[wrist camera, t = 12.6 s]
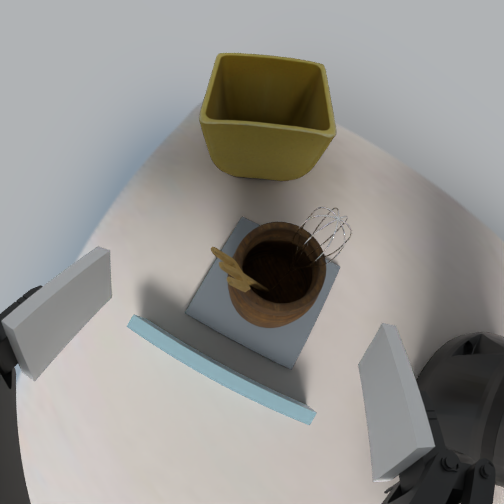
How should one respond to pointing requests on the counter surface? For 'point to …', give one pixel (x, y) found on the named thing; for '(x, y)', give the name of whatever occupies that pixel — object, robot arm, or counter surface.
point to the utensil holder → (276, 272)
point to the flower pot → (267, 115)
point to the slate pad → (241, 331)
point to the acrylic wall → (221, 371)
